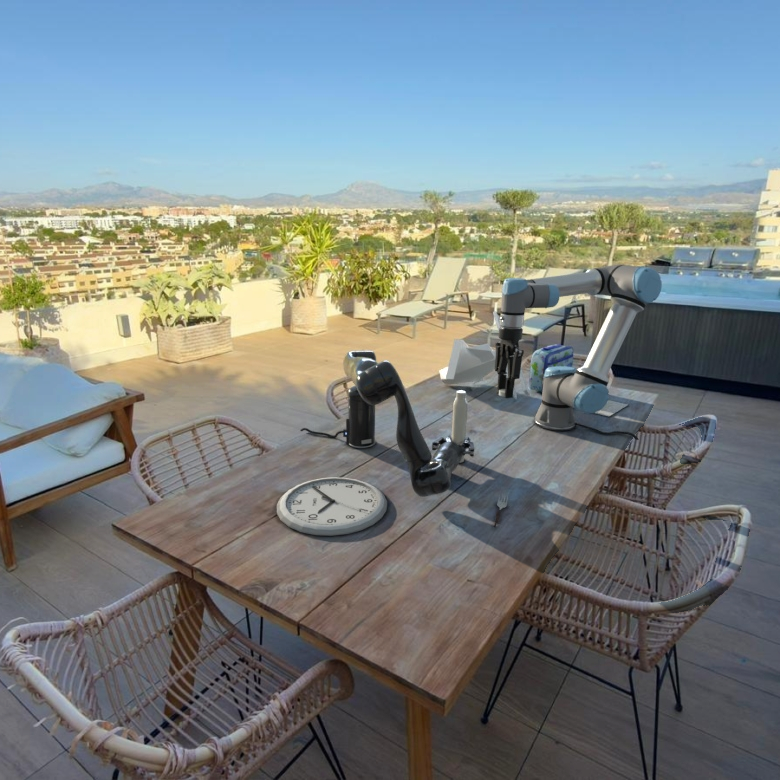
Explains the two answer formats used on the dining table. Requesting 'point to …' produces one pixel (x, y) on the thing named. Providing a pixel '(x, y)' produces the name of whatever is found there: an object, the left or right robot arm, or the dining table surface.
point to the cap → (502, 392)
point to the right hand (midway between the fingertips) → (504, 395)
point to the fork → (500, 505)
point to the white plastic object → (473, 363)
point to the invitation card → (611, 408)
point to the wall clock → (331, 506)
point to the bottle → (459, 419)
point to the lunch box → (548, 363)
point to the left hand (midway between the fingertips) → (460, 438)
